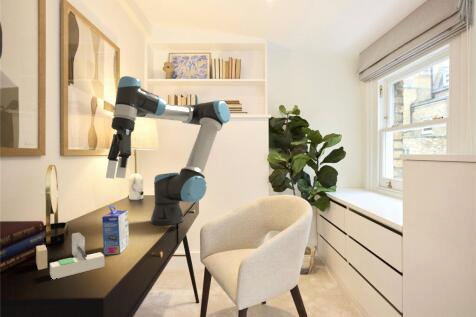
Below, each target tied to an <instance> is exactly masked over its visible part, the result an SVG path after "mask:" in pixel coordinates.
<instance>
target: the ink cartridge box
mask: <svg viewBox="0 0 476 317" xmlns="http://www.w3.org/2000/svg"><path fill="white" fill-rule="evenodd" d="M108 208H109V210H110V212H108V213H106V214H105V215H103V216H102V217H101V219H102V222H101V223H102V224H101V226H102V245H103V255H104V256H105V255H119V254H122V252H124V250H125V249H126V248H127V247H128V246H129V245H130V236H129V235H130V234H129V211H128V210H127V209H124V210H123V209H122V210H121V209H119V210H117V209H116V207H115V206H114V204H113V205H110V206H109V207H108Z"/></svg>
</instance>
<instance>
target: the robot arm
mask: <svg viewBox="0 0 476 317" xmlns="http://www.w3.org/2000/svg"><path fill="white" fill-rule="evenodd" d="M115 96H116V97H115V104H114V107H113V108H112V110H113V118H112V121H111V125H110V127H111V129H113V130H114V131H116V133H113V135H112V140H111V144H110V147H109V151H108V155H107V158H106V159H107V160H108V162H107V167H106V174H105V178H106V179H112V180H114V179H115V178H117V179H125V178H126V175H127V174H126V173H127V170H128V169H127V168H128V163H129V162H128V161H129V158H130V157H131V156H132V133H133V132H135V126H136V122H135V121H136V120H137V118H149V119H158V120H159V119H160V120H169V121H178V122H182V124H188V125H196V126H200V127H199V130H198V133H197V135H196V137H195V139H194V140H195V141H194V144H193V146H192V149H191V152H190V154H189V157H188V159H187V162H186V165H185V167H183V168H181V169H180V171H179V172H168V173H161V174H157V175H155V177H154V181H153V185H154V186H153V188H154V192H153V194H154V207H153V210H152V214H151V216H150V223H151V224H152V225H157V226H168V225H169V226H170V225H176V224H179V223H182V222H183V221H184V214H183V211H182V208H181V204H180V202H184V203H197V202H199V201H201V200H202V199H203V198H204V196H205V195H206V193H207V181H206V179H205V178H206V176H205V174H204V171H205V168H206V165H207V163H208V160H209V156H210V154H211V150H212V149H213V145H214V142H215V140H216V139H215V138H216V136H217V134H218V132H219V131H221V130H222V129H223V125H224V124H227V123H228V122H229V121H230V119H231V111H230V108H229V105H228V104H227V103H226V102H225V101H224V100H221V99H219V100H214V101H209V102H207V101H206V102H202V103H197V104H183V105H178V104H177V105H176V104H172V103H167V101H166V100H165V99H164V98H162V97H160V96H159V95H156V94H154V93H152V92H149V91H147V90H145V89H144V88H142V83H141V81H140V80H139V79H138V78H136V77H134V76H130V75H124V76H121V77H120V78H119V81H118V84H117V91H116V95H115Z"/></svg>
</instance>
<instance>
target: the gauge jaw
mask: <svg viewBox="0 0 476 317" xmlns="http://www.w3.org/2000/svg"><path fill="white" fill-rule="evenodd" d="M71 254H72V256H73V258H76V257H80V256H82V255H83V257H84V258H85V257H87V255H88V254H87V253H86V238H85V236H84V235H82V234H81V232H74V233H71Z"/></svg>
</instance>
